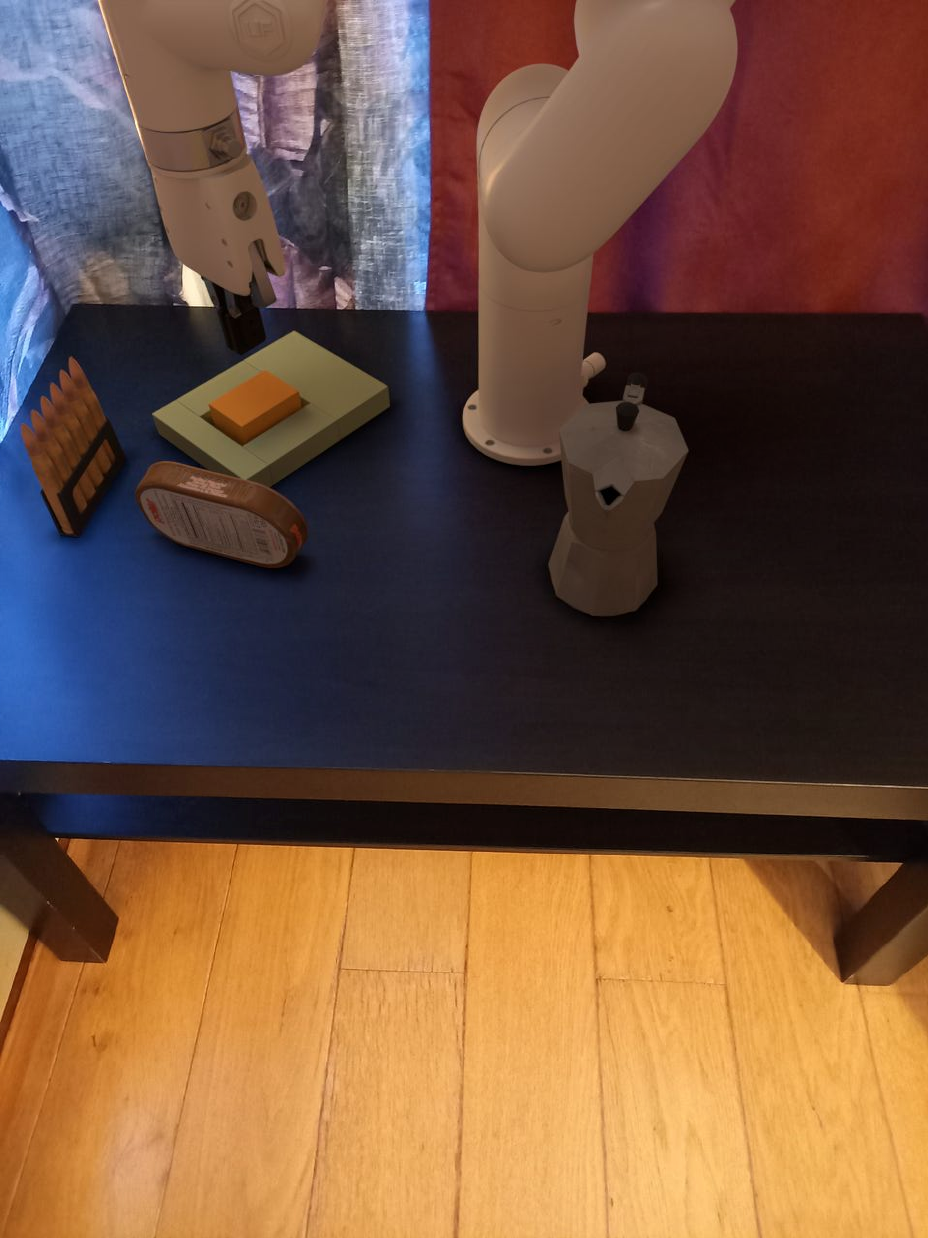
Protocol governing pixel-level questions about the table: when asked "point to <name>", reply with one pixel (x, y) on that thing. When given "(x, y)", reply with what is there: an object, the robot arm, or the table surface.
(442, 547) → the table surface
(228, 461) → the olive rectangular frame
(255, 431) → the ochre box
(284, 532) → the tin
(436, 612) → the table surface
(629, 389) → the coffeepot
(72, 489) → the ammunition clip
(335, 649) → the table surface
